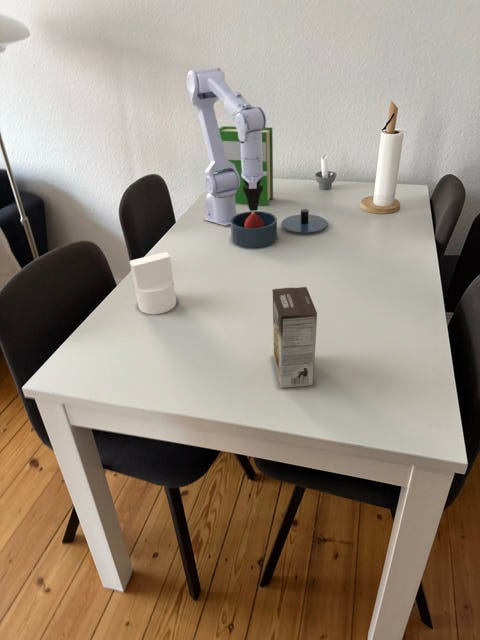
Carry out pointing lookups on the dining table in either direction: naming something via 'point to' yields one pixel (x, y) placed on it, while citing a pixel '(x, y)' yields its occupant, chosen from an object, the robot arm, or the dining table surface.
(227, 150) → the hardback book
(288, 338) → the coffee box
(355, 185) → the dining table surface
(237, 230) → the pot
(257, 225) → the red round fruit
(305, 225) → the pot lid
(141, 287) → the base with upright slab
